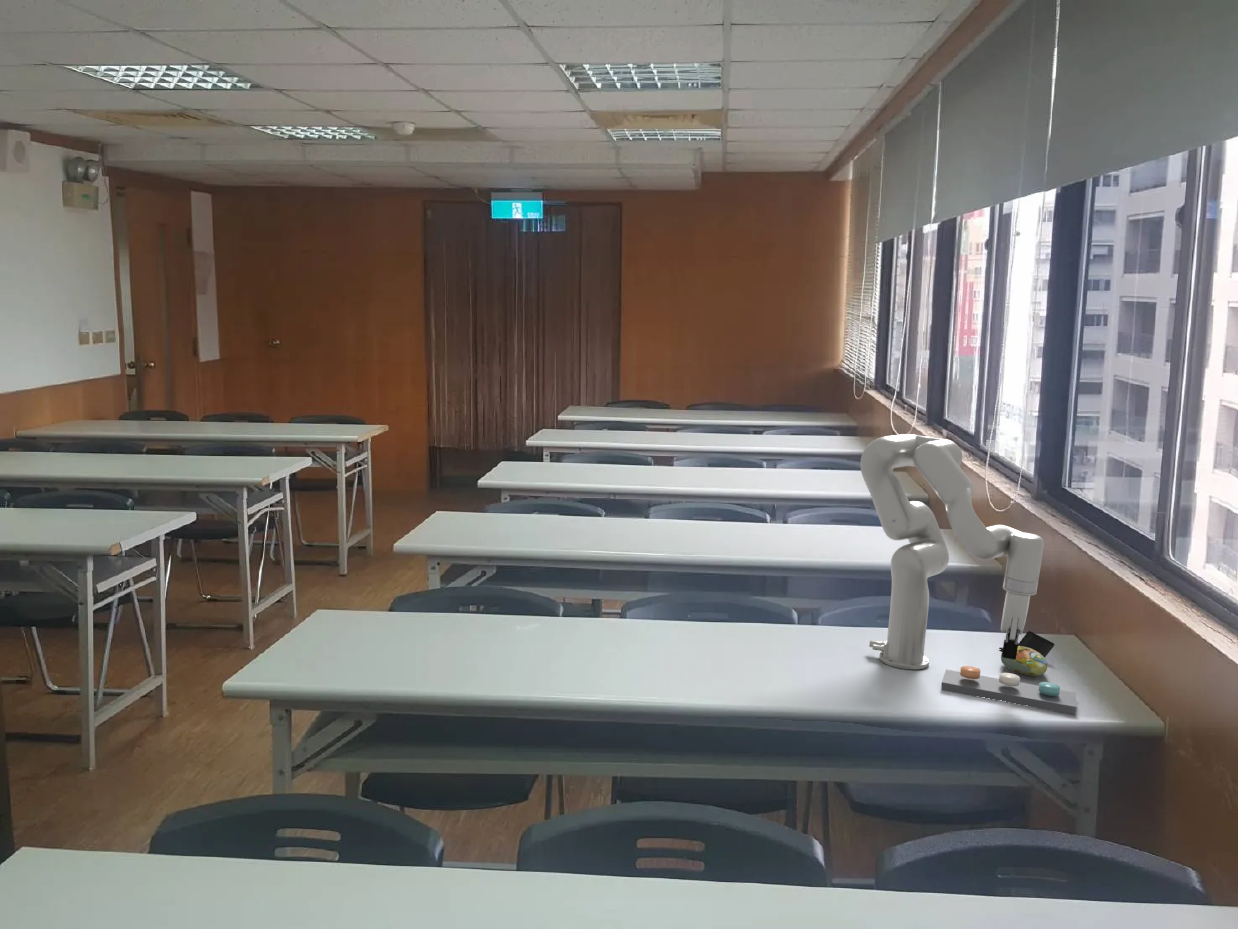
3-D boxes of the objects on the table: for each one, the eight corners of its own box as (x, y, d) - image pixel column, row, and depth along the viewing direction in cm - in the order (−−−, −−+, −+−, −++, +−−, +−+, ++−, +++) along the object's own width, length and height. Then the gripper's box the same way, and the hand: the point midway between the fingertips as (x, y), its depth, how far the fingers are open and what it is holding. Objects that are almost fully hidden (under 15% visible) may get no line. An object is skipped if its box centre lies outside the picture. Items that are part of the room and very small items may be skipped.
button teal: (1038, 693, 240) (1039, 687, 240) (1038, 687, 244) (1039, 680, 244) (1059, 697, 238) (1060, 690, 238) (1059, 690, 242) (1060, 684, 242)
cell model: (1040, 652, 269) (1057, 651, 255) (1033, 681, 268) (1049, 681, 253) (999, 640, 271) (1013, 637, 257) (992, 668, 270) (1005, 667, 255)
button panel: (941, 690, 246) (941, 682, 246) (945, 676, 255) (946, 669, 255) (1075, 715, 235) (1076, 707, 234) (1074, 700, 244) (1075, 692, 244)
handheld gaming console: (993, 645, 277) (1017, 617, 277) (1006, 658, 281) (1029, 630, 281) (1024, 665, 267) (1048, 636, 267) (1036, 678, 271) (1060, 649, 271)
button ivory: (998, 684, 243) (999, 677, 243) (999, 677, 248) (1000, 671, 247) (1018, 687, 242) (1019, 681, 241) (1019, 681, 246) (1020, 675, 246)
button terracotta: (959, 676, 247) (959, 670, 247) (960, 670, 251) (961, 664, 251) (979, 680, 245) (979, 674, 245) (980, 674, 249) (981, 668, 249)
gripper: (1004, 574, 249) (993, 644, 252) (1002, 590, 235) (991, 664, 239) (1037, 579, 246) (1025, 651, 250) (1037, 596, 233) (1025, 671, 236)
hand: (1008, 657), depth 244 cm, fingers closed
